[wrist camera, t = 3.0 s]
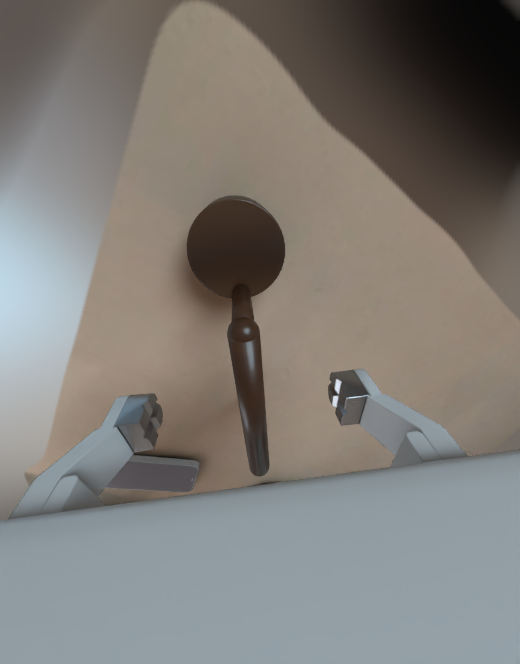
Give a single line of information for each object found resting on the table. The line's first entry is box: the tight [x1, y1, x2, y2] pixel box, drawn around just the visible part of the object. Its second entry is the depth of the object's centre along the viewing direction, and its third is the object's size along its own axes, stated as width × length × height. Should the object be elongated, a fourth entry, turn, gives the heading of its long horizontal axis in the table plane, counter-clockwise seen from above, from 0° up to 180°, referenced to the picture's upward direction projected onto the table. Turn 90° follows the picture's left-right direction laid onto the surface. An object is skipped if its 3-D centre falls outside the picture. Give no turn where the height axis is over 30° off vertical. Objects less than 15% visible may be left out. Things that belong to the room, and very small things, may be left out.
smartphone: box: [106, 455, 200, 492], centre depth 31 cm, size 7×1×15 cm
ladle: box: [187, 196, 285, 476], centre depth 17 cm, size 19×6×9 cm, turn 3°
